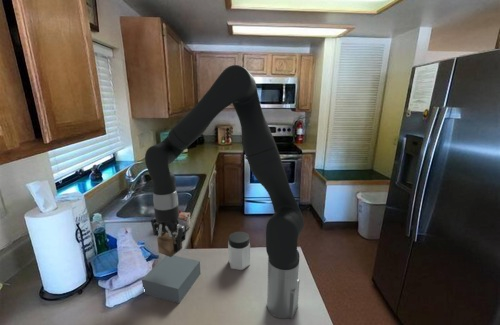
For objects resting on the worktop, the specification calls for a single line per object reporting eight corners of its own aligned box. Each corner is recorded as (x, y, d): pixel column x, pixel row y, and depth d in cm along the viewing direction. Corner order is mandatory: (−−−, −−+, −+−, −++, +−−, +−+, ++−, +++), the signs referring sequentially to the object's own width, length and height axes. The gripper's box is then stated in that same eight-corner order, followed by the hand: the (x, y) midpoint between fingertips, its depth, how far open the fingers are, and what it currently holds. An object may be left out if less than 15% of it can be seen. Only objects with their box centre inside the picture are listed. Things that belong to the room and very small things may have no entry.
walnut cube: (182, 248, 82) (181, 234, 81) (170, 257, 77) (169, 242, 76) (170, 243, 85) (169, 230, 83) (158, 252, 80) (157, 238, 78)
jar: (227, 258, 98) (226, 232, 95) (245, 254, 100) (245, 229, 97) (231, 272, 90) (231, 245, 86) (252, 268, 92) (252, 241, 89)
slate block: (200, 274, 89) (199, 261, 87) (179, 304, 76) (178, 288, 74) (168, 267, 93) (167, 254, 91) (143, 294, 80) (141, 279, 78)
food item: (193, 225, 124) (191, 208, 121) (187, 233, 116) (186, 215, 113) (168, 223, 125) (166, 206, 123) (161, 231, 117) (159, 213, 115)
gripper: (191, 203, 77) (194, 248, 81) (159, 195, 83) (163, 238, 87) (174, 213, 70) (178, 261, 74) (141, 204, 76) (146, 249, 81)
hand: (170, 248), depth 81 cm, fingers closed on walnut cube, 5 cm apart
